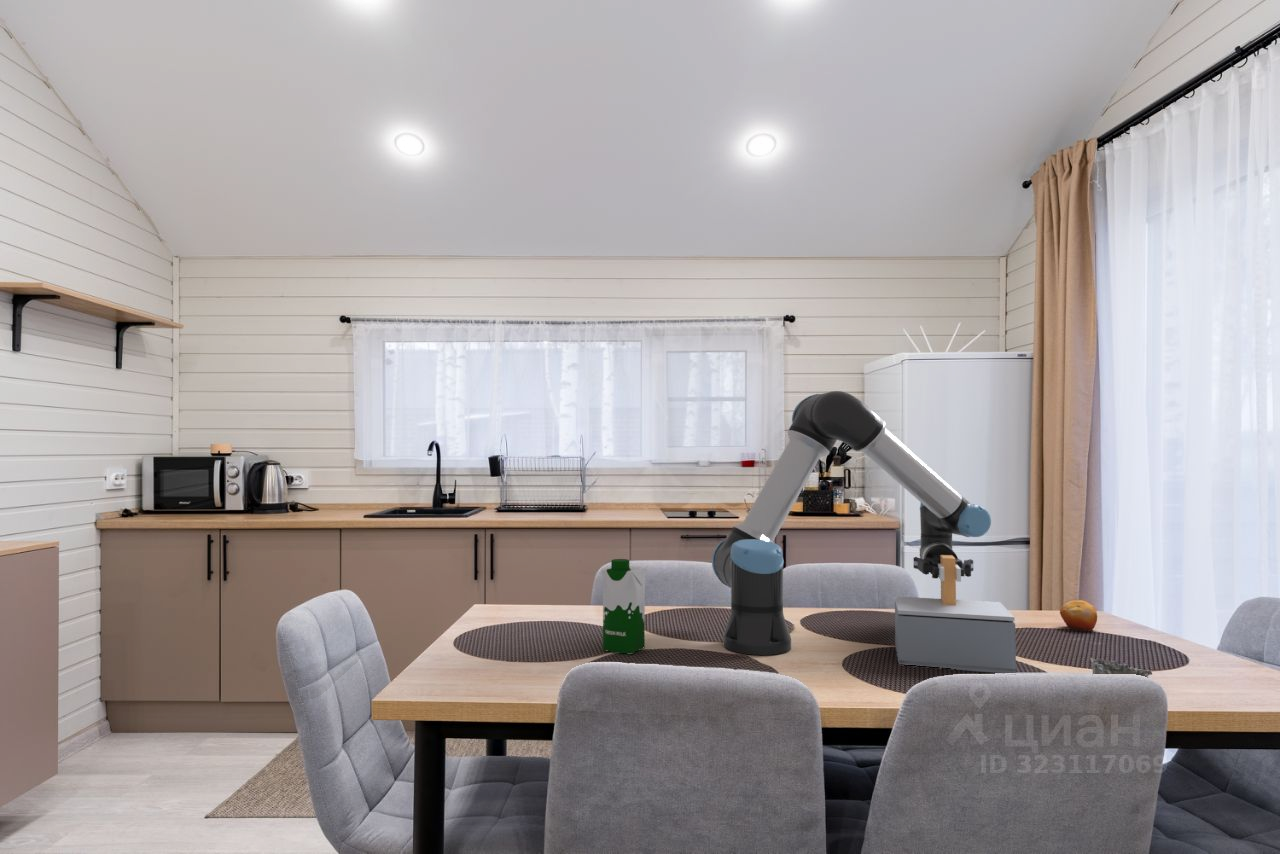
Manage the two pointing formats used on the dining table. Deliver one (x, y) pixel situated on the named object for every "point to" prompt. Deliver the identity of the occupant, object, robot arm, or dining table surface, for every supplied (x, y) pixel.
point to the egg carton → (1116, 668)
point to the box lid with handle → (951, 601)
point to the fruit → (1079, 615)
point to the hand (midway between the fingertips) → (950, 574)
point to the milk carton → (623, 607)
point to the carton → (956, 643)
